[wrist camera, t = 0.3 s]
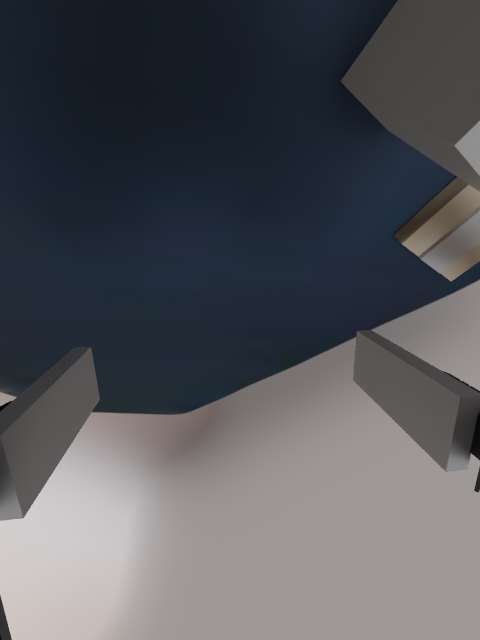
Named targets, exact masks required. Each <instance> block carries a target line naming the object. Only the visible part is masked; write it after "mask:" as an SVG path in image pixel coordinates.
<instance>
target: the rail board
mask: <svg viewBox="0 0 480 640" xmlns="http://www.w3.org/2000/svg"><path fill="white" fill-rule="evenodd" d="M394 236H395V237H396V238H397V239H398V240H399V241H400V243H401V244H402V245H404V246H405V247H406V248H408V249H409V250H410V251H412V252H413V253H414V254H416V255H417V256H418V257H419V258H420V259H421V260H422V261H424V262H425V263H426V264H428V265H429V266H430V267H432V268H433V269H434V270H436V271H437V272H438V273H441V274H442V275H443V276H445V277H446V278H447V279H449V280H450V281H453V280H454V279H455V278H457V277H458V276H459V275H461V274H462V273H464V272H465V271H466V270H468V269H469V268H470V267H472V266H473V265H475V264H476V263H477V262H479V261H480V192H479V191H478V190H476V189H475V188H473V187H472V186H470V185H469V184H467V183H466V182H464V181H463V180H461V179H460V178H458V177H456V178H455V179H454V180H453V181H452V182H451V183H450V184H449V185H448V186H446V187H445V188H444V189H443V190H442V191H441V192H440V193H439V194H438V195H437V196H436V197H435V198H433V199H432V200H431V201H430V202H429V203H428V204H427V205H426V206H425V207H424V208H423V209H422V210H420V211H419V212H418V213H417V214H416V215H415V216H414V217H413V218H412V219H411V220H410V221H408V222H407V223H406V224H405V225H404V226H403V227H402V228H401V229H400V230H399V231H398V232H397V233H395V234H394Z"/></svg>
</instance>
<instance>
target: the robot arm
mask: <svg viewBox="0 0 480 640" xmlns="http://www.w3.org/2000/svg"><path fill="white" fill-rule="evenodd" d="M353 380H354V381H355V382H356V383H357V384H358V385H359V386H360V387H361V388H362V389H363V390H364V391H365V392H366V393H367V394H368V395H369V396H370V397H371V398H372V399H373V400H374V401H375V402H376V403H377V404H378V405H379V406H380V407H381V408H382V409H383V410H384V411H385V412H386V413H387V414H388V415H389V416H390V417H391V418H392V419H393V420H394V421H395V422H396V423H397V424H398V425H399V426H400V427H401V428H402V429H403V430H404V431H405V432H406V433H407V434H408V435H409V436H410V437H411V438H413V440H414V441H415V442H416V443H418V445H419V446H421V447H422V449H424V450H425V451H426V452H427V453H428V454H429V455H430V456H431V457H432V458H433V459H434V460H435V461H436V462H437V463H438V464H439V465H440V466H441V467H442V468H443V469H444V470H445V471H446V472H448V471H456V470H466V469H468V464H469V459H470V455H471V453H472V454H473V455H474V456H475V457H476V458H478V459H479V460H480V391H479V390H477V389H475V388H473V387H472V386H469V385H468V384H467V383H465V382H463V381H460V379H458V378H456V377H454V376H453V375H451V374H449V373H446V372H443V371H441V370H439V369H437V368H436V367H434V366H432V365H430V364H429V363H427V362H425V361H423V360H422V359H420V358H418V357H417V356H415V355H413V354H411V353H410V352H408V351H406V350H404V349H403V348H401V347H399V346H398V345H396V344H394V343H392V342H391V341H389V340H387V339H385V338H384V337H382V336H380V335H379V334H377V333H375V332H373V331H372V330H368V331H357V338H356V350H355V363H354V375H353ZM99 400H100V398H99V392H98V386H97V380H96V374H95V368H94V362H93V356H92V350H91V347H86V348H74V349H72V350H71V351H70V352H69V353H68V354H67V355H66V356H64V357H63V358H62V359H61V360H60V361H59V362H57V363H56V364H55V365H54V366H53V367H52V368H50V369H49V370H48V371H47V372H46V373H45V374H44V375H42V376H41V377H40V378H39V379H38V380H37V381H35V382H34V383H33V384H32V385H31V386H30V387H28V388H27V389H26V390H25V391H24V392H23V393H21V394H20V395H19V396H18V397H17V398H16V399H15V400H13V401H10V402H8V403H6V404H4V405H3V406H0V521H1V520H10V519H20V518H24V516H25V515H26V513H27V511H28V510H29V508H30V507H31V505H32V504H33V502H34V501H35V499H36V498H37V496H38V494H39V493H40V491H41V490H42V488H43V487H44V485H45V484H46V482H47V480H48V479H49V477H50V476H51V474H52V473H53V471H54V470H55V468H56V466H57V465H58V463H59V462H60V460H61V459H62V457H63V456H64V454H65V453H66V451H67V449H68V448H69V446H70V445H71V443H72V442H73V440H74V439H75V437H76V435H77V434H78V432H79V431H80V429H81V428H82V426H83V425H84V423H85V421H86V420H87V418H88V417H89V415H90V413H91V412H92V411H93V409H94V407H95V406H96V404H97V403H98V401H99ZM479 490H480V468H479V472H478V477H477V481H476V486H475V490H474V491H476V492H479ZM0 640H12V639H11V635H10V631H9V628H8V624H7V620H6V616H5V612H4V608H3V604H2V600H1V597H0Z"/></svg>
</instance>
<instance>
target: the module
mask: <svg viewBox="0 0 480 640" xmlns="http://www.w3.org/2000/svg"><path fill="white" fill-rule="evenodd" d="M341 83H342V84H343V85H344V86H345V87H346V88H347V89H348V90H349V91H350V92H351V93H352V94H353V95H354V96H355V97H356V98H357V99H358V100H359V101H360V102H361V103H362V104H363V105H364V106H365V107H366V108H367V109H368V110H369V111H370V112H371V114H372V115H373V116H374V117H375V118H376V119H377V120H378V121H379V122H380V123H381V124H382V125H383V126H384V127H385V128H386V129H387V130H388V131H390V132H391V133H393V134H394V135H396V136H397V137H399V138H400V139H402V140H403V141H405V142H406V143H408V144H409V145H411V146H412V147H414V148H415V149H417V150H418V151H420V152H421V153H423V154H424V155H426V156H427V157H429V158H430V159H432V160H433V161H435V162H436V163H437V164H439V165H440V166H442V167H443V168H445V169H446V170H448V171H449V172H451V173H452V174H454V175H455V176H457V177H458V178H460V179H461V180H463V181H464V182H466V183H467V184H469V185H470V186H472V187H473V188H475V189H476V190H478V191H479V192H480V0H398V1H397V2H396V4H395V5H394V6H393V8H392V9H391V11H390V12H389V14H388V15H387V16H386V18H385V19H384V21H383V22H382V23H381V25H380V26H379V28H378V29H377V31H376V32H375V33H374V35H373V36H372V38H371V39H370V41H369V42H368V43H367V45H366V46H365V48H364V49H363V50H362V52H361V53H360V55H359V56H358V58H357V59H356V60H355V62H354V63H353V65H352V66H351V67H350V69H349V70H348V72H347V73H346V75H345V76H344V77H343V79H342V80H341Z"/></svg>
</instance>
